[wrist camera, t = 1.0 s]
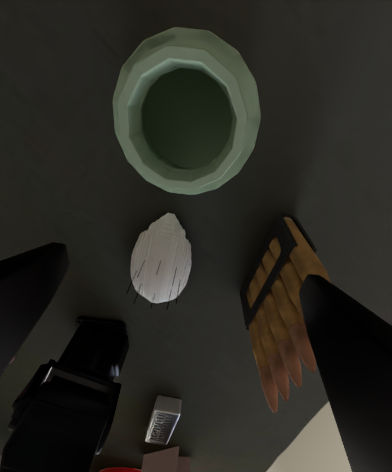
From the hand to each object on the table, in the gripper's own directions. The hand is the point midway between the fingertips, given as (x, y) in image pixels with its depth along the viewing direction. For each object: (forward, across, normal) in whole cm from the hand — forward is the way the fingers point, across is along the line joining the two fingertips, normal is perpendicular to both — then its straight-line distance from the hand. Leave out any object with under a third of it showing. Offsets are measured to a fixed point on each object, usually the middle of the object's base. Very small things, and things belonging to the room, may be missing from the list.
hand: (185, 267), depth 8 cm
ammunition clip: (+13, -8, +8) cm, 17 cm away
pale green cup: (+13, +1, -4) cm, 14 cm away
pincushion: (+13, +3, +10) cm, 17 cm away
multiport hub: (+13, +2, +47) cm, 49 cm away
